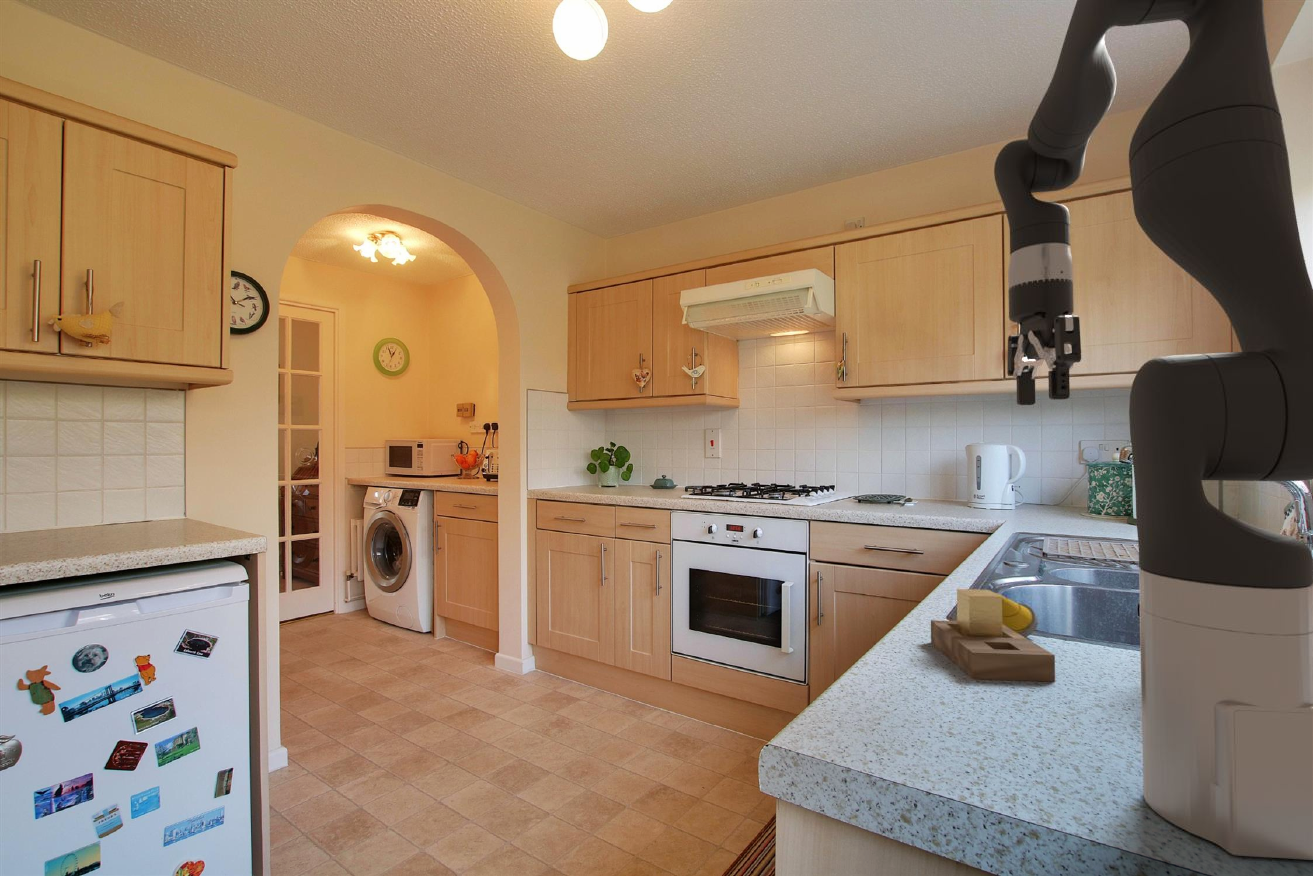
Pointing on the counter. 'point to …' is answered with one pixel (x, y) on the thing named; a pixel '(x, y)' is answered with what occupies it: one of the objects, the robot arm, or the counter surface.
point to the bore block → (994, 654)
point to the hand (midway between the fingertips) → (1041, 402)
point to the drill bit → (1018, 617)
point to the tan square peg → (979, 613)
